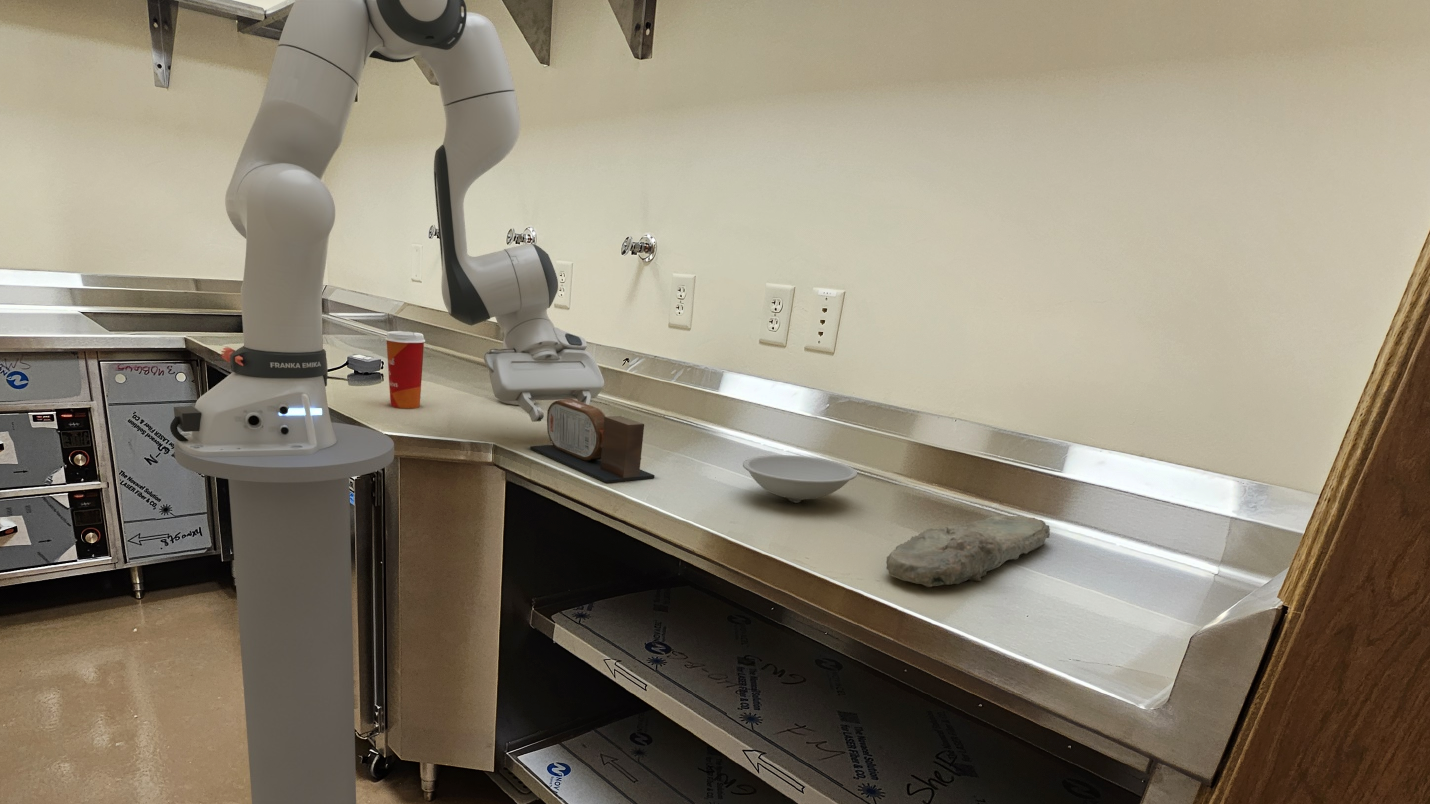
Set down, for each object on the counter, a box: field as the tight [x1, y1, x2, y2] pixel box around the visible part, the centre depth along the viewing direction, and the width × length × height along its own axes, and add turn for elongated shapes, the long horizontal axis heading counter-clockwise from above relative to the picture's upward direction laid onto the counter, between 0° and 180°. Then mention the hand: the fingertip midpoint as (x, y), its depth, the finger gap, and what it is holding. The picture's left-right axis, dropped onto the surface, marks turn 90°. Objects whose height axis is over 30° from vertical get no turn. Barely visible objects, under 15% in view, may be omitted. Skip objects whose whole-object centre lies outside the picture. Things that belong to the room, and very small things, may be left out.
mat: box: [529, 444, 655, 484], centre depth 133 cm, size 9×22×1 cm, turn 35°
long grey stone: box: [885, 514, 1051, 588], centre depth 101 cm, size 35×5×10 cm
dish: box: [742, 454, 858, 503], centre depth 121 cm, size 18×14×5 cm
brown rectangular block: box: [600, 415, 645, 478], centre depth 126 cm, size 3×6×8 cm, turn 35°
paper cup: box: [384, 330, 426, 410], centre depth 163 cm, size 8×8×14 cm
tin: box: [546, 398, 607, 461], centre depth 134 cm, size 15×3×8 cm, turn 36°
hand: (562, 418), depth 138 cm, fingers open, 8 cm apart
